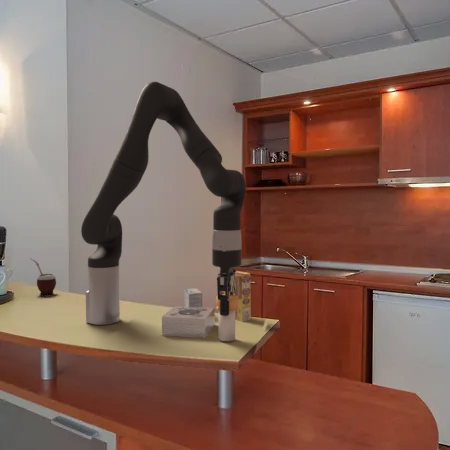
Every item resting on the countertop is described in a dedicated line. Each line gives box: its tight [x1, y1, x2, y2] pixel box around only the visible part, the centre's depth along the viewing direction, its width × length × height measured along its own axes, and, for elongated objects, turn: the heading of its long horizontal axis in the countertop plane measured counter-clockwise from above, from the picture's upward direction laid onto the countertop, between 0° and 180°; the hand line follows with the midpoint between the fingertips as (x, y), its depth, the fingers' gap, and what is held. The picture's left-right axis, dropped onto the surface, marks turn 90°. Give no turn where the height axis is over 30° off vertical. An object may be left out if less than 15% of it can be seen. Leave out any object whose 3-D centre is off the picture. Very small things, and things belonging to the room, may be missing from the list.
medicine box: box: [183, 288, 204, 307], centre depth 138 cm, size 8×4×9 cm, turn 16°
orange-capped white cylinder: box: [215, 294, 238, 342], centre depth 112 cm, size 6×6×11 cm
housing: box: [161, 305, 216, 338], centre depth 121 cm, size 12×12×6 cm
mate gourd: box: [29, 257, 57, 297], centre depth 170 cm, size 8×8×15 cm
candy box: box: [222, 270, 252, 322], centre depth 134 cm, size 9×4×15 cm, turn 44°
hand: (226, 311), depth 112 cm, fingers closed on orange-capped white cylinder, 5 cm apart
